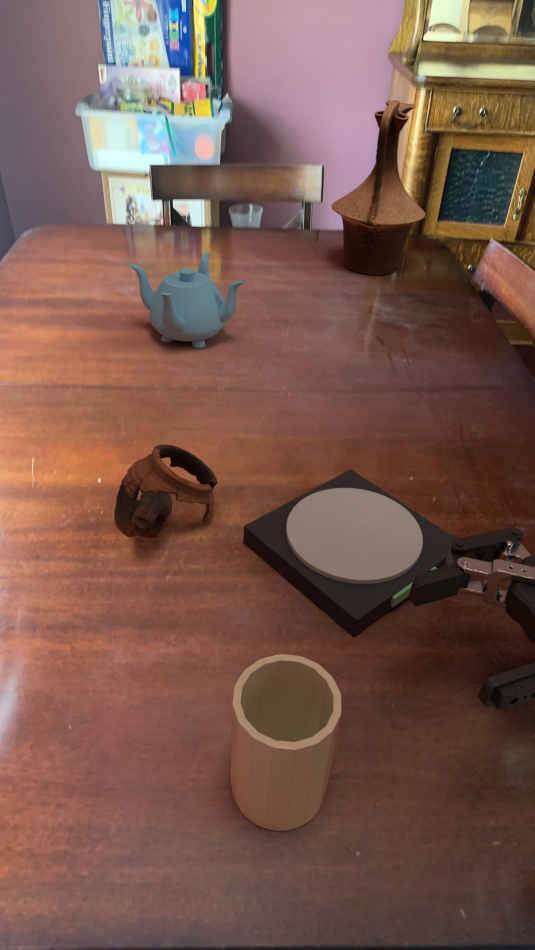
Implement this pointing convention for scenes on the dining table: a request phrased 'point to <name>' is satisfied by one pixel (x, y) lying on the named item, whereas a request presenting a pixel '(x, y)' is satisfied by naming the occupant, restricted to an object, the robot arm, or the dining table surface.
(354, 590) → the scale
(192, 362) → the dining table surface
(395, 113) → the pitcher
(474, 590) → the robot arm
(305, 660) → the cup
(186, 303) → the teapot
